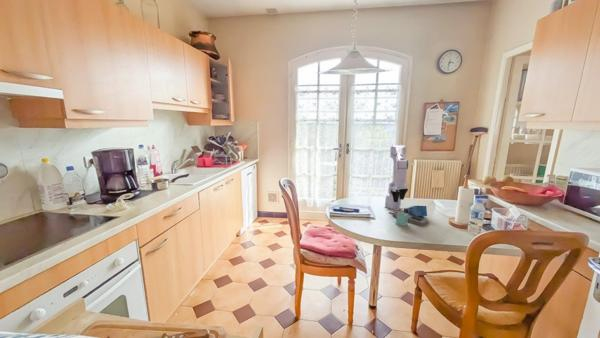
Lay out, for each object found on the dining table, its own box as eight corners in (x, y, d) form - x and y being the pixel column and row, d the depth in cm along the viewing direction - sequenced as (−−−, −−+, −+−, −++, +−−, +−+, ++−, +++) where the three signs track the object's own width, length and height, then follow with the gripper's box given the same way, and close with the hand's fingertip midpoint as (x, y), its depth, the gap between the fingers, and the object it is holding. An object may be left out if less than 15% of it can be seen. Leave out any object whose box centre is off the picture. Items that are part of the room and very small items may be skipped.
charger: (395, 224, 141) (396, 213, 140) (399, 222, 144) (400, 211, 142) (404, 227, 137) (405, 215, 136) (407, 225, 140) (408, 214, 138)
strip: (386, 214, 155) (386, 210, 154) (391, 212, 159) (392, 207, 158) (422, 227, 138) (422, 221, 137) (427, 223, 143) (427, 218, 142)
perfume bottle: (427, 216, 147) (407, 215, 147) (421, 216, 153) (403, 215, 153) (426, 205, 148) (406, 205, 148) (421, 206, 154) (402, 205, 154)
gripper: (401, 182, 140) (399, 204, 143) (412, 178, 149) (410, 199, 152) (389, 180, 145) (387, 201, 148) (401, 176, 154) (399, 197, 157)
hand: (398, 200), depth 150 cm, fingers open, 7 cm apart
